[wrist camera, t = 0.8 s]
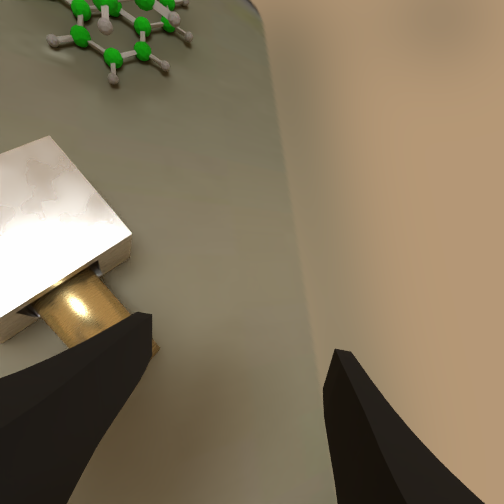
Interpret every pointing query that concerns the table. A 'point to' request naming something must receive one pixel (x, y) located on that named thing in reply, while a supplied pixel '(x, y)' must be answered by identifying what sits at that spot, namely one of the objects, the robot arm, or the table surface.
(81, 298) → the amber cylinder
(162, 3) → the molecule models
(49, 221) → the housing
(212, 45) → the table surface
